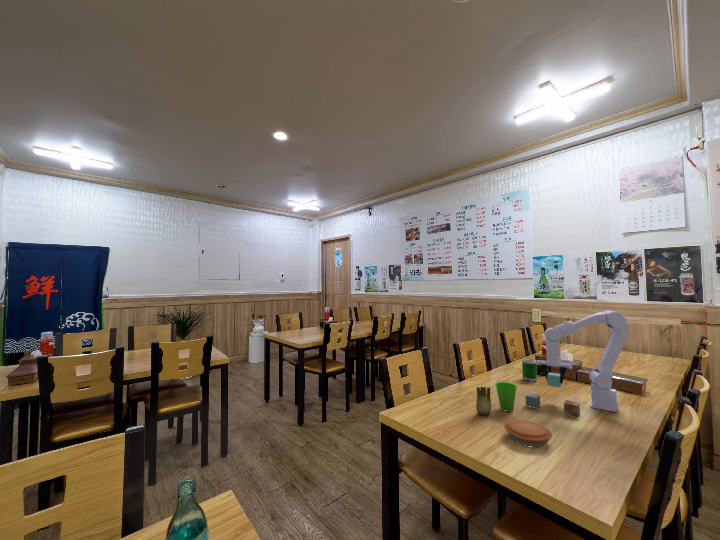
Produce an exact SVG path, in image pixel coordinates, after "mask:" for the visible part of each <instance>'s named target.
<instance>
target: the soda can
mask: <svg viewBox="0 0 720 540" xmlns="http://www.w3.org/2000/svg"><path fill="white" fill-rule="evenodd" d="M536 361H537V360H535V358H527V357H526V358H522V360H521V367H522V369H521V370H522V379H523V380H524V379H525V380H524V381H526V380H529V381H528V382H536V381H537V380H538V369H537V366H538V365H537V363H536ZM535 380H536V381H535Z"/></svg>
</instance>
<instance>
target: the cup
mask: <svg viewBox="0 0 720 540" xmlns="http://www.w3.org/2000/svg"><path fill="white" fill-rule="evenodd" d="M494 385H495V387H496V392H497V396H498V398H497V399H498V401H499V402H498V403H499V407H500V408H499V409H500V410H501V409H503V410H507V411H512V410H513V411H514V409H515V408H514V407H515V400H516V399H515V398H516V393H517V392H516V391H517V388H518V386H517V384H516V383H512V382H508V381H498V382H495V384H494ZM503 410H502V411H503ZM513 411H512V412H513Z"/></svg>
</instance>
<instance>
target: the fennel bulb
mask: <svg viewBox="0 0 720 540" xmlns="http://www.w3.org/2000/svg"><path fill="white" fill-rule="evenodd" d="M475 389H476V402H475V408H476V409H475V410H476V412H477V413H478V414H479V415H480V414H482V415H481V416H485V415H487V416H489V415H491V412H492V411H491V410H492V400H491V399H492V398H491V387H488V386H476V388H475Z"/></svg>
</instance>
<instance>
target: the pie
mask: <svg viewBox="0 0 720 540" xmlns="http://www.w3.org/2000/svg"><path fill="white" fill-rule="evenodd" d="M503 428H504V429H505V431H506V433H508V435H509V437H510V438H512V439H513V440H514V441H513V442H515V441H516V442H518V443H520V444H519V445H521V444H522V445H521V446H524V445H526V446H525V447H528V446H532V447H531V448H542V447H541V446H543V447H545V446H546V445H547V443H548V442H549V441H550V440H551V439H552V437H553V432H552V431H551V430H550V429H549V428H548V427H546V426H544V425H542V424H540V423H538V422H535V421H531V420H526V419H515V420H514V419H513V420H510V421H507V422H505V423H504V425H503ZM512 439H511V440H512ZM516 442H515V443H516ZM518 443H517V444H518ZM545 444H546V445H545ZM544 445H545V446H544Z"/></svg>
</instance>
